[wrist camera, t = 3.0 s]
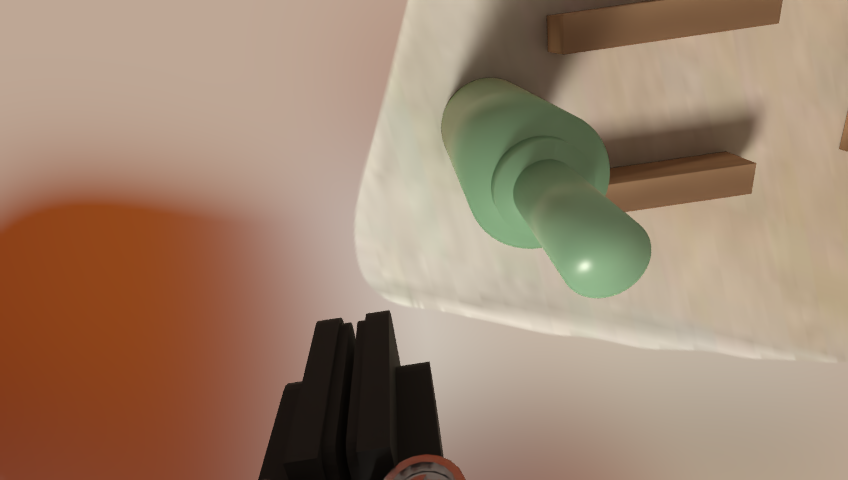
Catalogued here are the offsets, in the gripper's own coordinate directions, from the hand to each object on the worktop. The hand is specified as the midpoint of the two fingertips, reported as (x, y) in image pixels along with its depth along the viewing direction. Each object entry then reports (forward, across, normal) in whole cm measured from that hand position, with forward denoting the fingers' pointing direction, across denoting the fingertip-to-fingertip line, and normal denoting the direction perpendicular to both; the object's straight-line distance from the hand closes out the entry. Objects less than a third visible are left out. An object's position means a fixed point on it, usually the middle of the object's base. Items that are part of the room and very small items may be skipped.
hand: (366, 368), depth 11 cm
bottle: (+22, -7, -1) cm, 23 cm away
